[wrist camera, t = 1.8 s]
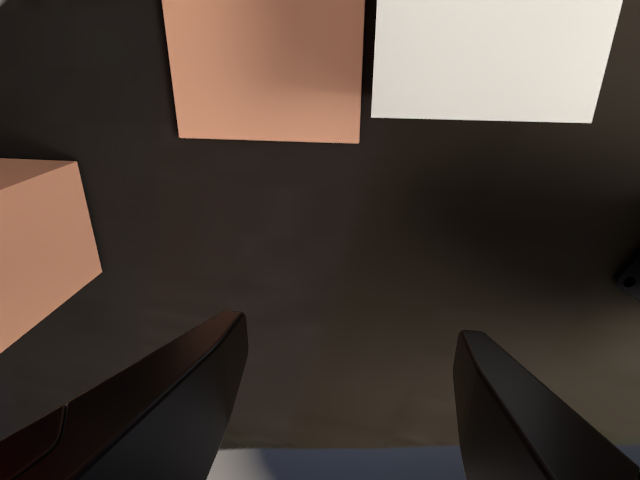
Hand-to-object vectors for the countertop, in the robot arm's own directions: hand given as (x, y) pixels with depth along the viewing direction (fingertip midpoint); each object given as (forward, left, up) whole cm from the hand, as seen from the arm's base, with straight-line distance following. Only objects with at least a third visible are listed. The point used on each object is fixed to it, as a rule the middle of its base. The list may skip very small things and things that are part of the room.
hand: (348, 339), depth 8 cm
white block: (0, -7, -12) cm, 14 cm away
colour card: (+6, -2, -12) cm, 14 cm away
